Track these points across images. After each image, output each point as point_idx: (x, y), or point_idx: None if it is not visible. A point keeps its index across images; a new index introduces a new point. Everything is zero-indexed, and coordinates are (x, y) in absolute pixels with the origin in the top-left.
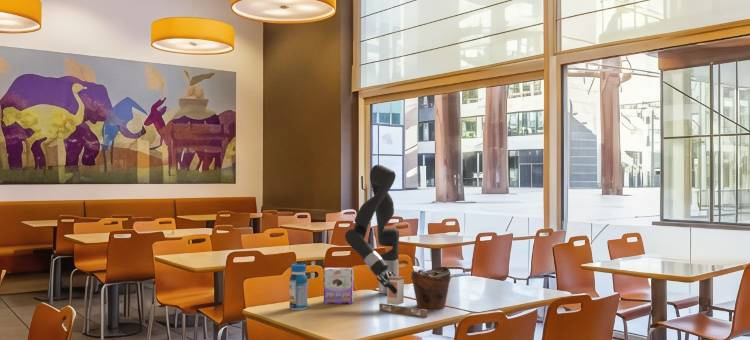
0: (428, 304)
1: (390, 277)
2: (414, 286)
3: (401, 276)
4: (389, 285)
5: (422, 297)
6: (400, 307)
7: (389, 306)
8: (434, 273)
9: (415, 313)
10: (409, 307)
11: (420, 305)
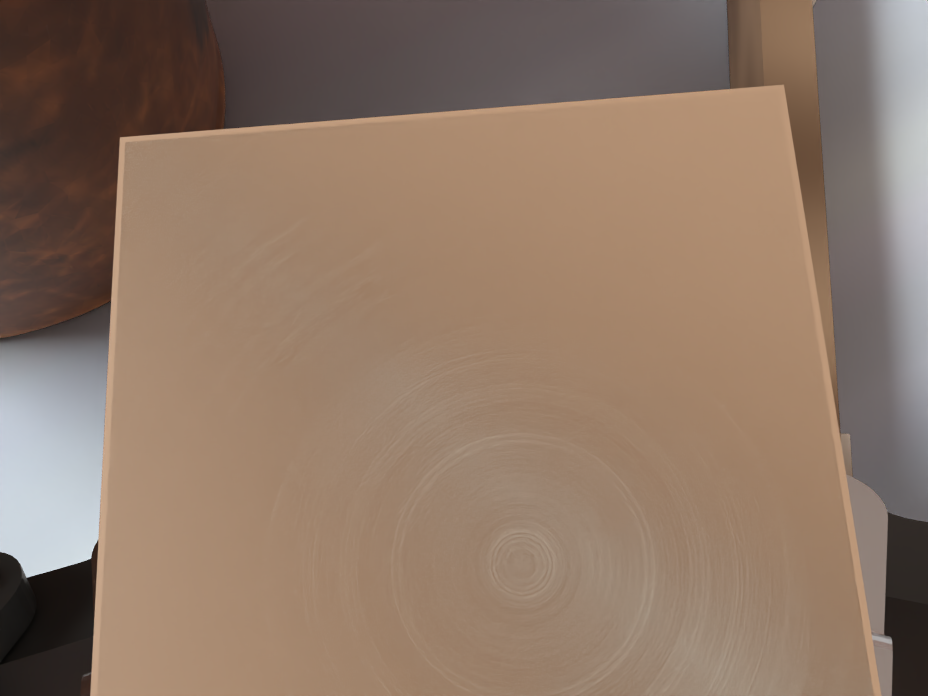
0: (207, 9)
1: (861, 582)
2: (7, 110)
3: (186, 229)
4: (897, 532)
5: (190, 23)
6: (820, 215)
7: (850, 463)
8: None
9: None
10: (774, 47)
11: None
